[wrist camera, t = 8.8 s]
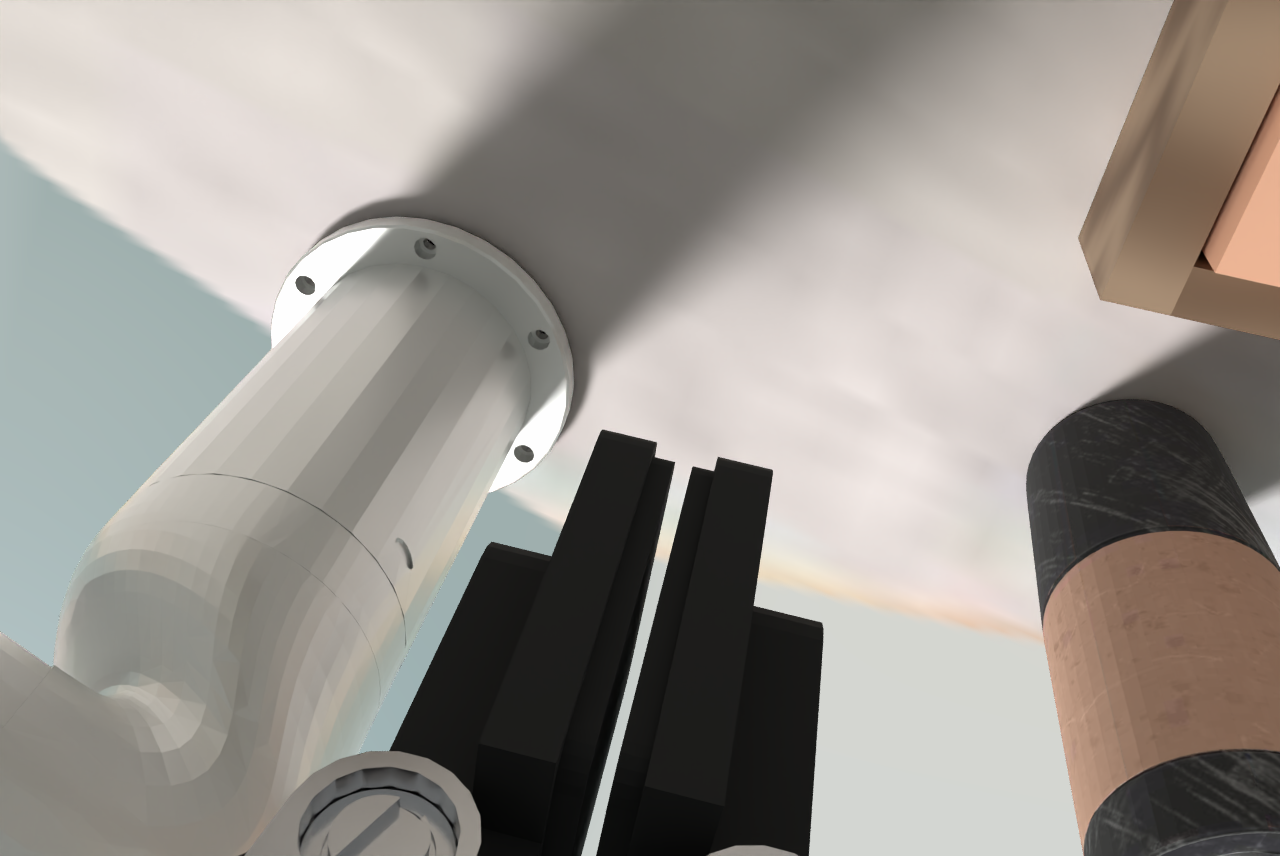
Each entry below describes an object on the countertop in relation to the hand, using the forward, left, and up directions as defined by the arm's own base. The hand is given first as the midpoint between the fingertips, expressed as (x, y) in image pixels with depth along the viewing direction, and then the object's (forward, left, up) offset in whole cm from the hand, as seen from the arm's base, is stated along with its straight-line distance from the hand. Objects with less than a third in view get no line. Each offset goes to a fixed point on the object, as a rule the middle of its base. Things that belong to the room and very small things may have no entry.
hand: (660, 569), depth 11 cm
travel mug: (-16, -16, -31) cm, 39 cm away
